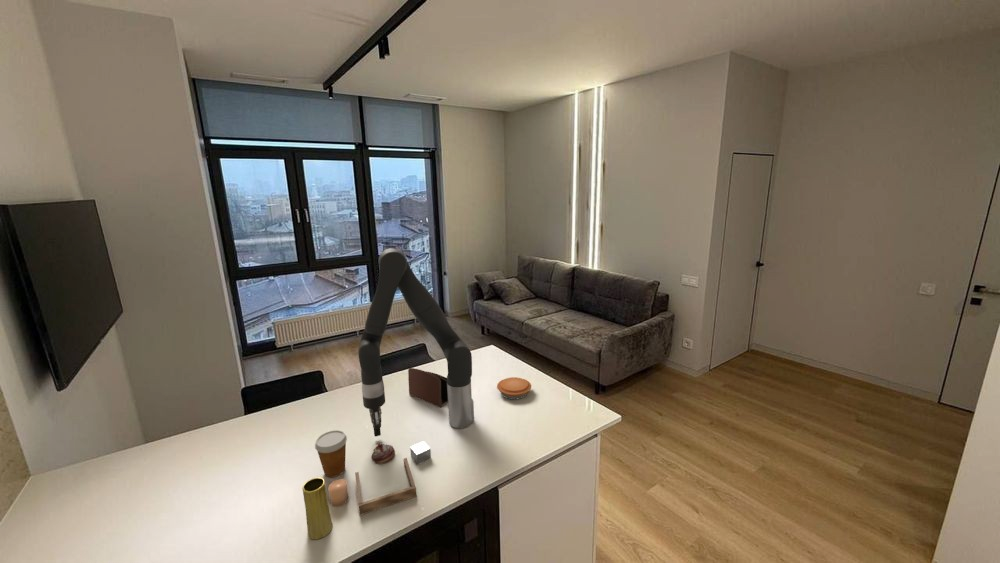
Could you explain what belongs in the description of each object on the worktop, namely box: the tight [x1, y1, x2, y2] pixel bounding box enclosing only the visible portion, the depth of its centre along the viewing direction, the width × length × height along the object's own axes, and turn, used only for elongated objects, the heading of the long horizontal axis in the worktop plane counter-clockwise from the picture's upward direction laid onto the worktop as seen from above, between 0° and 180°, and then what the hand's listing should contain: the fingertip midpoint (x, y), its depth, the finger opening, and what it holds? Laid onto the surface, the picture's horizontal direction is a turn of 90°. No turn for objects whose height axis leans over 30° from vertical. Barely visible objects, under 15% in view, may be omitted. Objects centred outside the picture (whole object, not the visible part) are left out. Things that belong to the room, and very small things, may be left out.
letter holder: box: [407, 367, 448, 408], centre depth 167 cm, size 10×20×14 cm, turn 55°
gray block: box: [409, 441, 432, 465], centre depth 128 cm, size 5×5×4 cm
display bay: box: [354, 457, 417, 516], centre depth 115 cm, size 16×14×3 cm
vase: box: [301, 477, 334, 540], centre depth 100 cm, size 6×6×14 cm
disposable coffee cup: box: [314, 429, 348, 478], centre depth 122 cm, size 10×10×12 cm
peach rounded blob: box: [328, 478, 349, 508], centre depth 111 cm, size 5×5×5 cm
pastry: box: [371, 442, 396, 465], centre depth 129 cm, size 8×8×5 cm
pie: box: [496, 376, 532, 400], centre depth 169 cm, size 16×16×5 cm
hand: (377, 434), depth 139 cm, fingers closed
